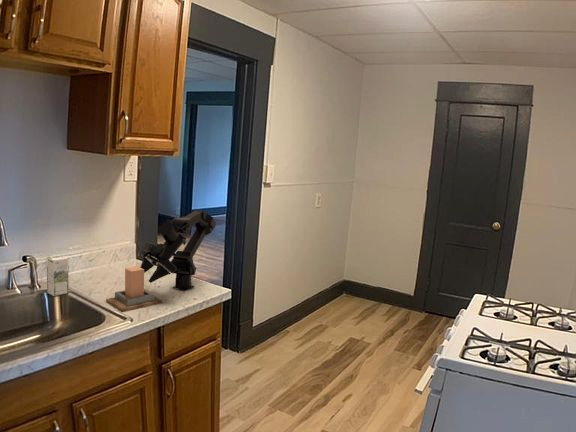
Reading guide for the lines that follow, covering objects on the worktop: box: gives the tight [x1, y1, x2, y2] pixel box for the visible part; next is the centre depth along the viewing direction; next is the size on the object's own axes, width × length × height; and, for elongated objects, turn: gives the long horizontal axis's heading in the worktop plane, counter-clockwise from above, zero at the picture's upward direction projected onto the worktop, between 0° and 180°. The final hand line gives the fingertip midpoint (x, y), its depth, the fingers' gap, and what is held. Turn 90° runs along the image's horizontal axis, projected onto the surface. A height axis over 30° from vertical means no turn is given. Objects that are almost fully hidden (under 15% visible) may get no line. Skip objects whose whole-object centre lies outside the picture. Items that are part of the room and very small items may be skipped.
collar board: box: [105, 288, 163, 313], centre depth 174 cm, size 16×13×4 cm
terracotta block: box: [124, 266, 145, 298], centre depth 173 cm, size 5×5×12 cm
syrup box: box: [46, 254, 70, 297], centre depth 177 cm, size 6×6×14 cm
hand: (143, 278), depth 175 cm, fingers open, 9 cm apart
